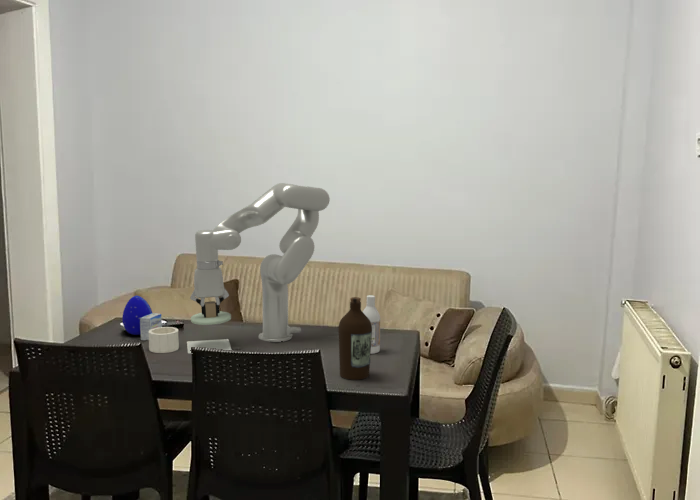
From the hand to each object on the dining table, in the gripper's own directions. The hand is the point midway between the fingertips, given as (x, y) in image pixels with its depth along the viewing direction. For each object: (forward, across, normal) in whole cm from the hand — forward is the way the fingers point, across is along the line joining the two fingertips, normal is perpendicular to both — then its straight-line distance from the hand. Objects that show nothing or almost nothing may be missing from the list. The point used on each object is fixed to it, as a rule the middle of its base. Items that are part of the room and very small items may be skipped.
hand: (210, 315), depth 250 cm
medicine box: (+11, +21, -16) cm, 29 cm away
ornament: (+11, +27, -23) cm, 37 cm away
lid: (+2, 0, 0) cm, 2 cm away
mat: (+12, +1, 0) cm, 12 cm away
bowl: (+11, +17, 0) cm, 20 cm away
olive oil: (+13, -42, +41) cm, 60 cm away
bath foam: (+14, -54, +17) cm, 58 cm away
